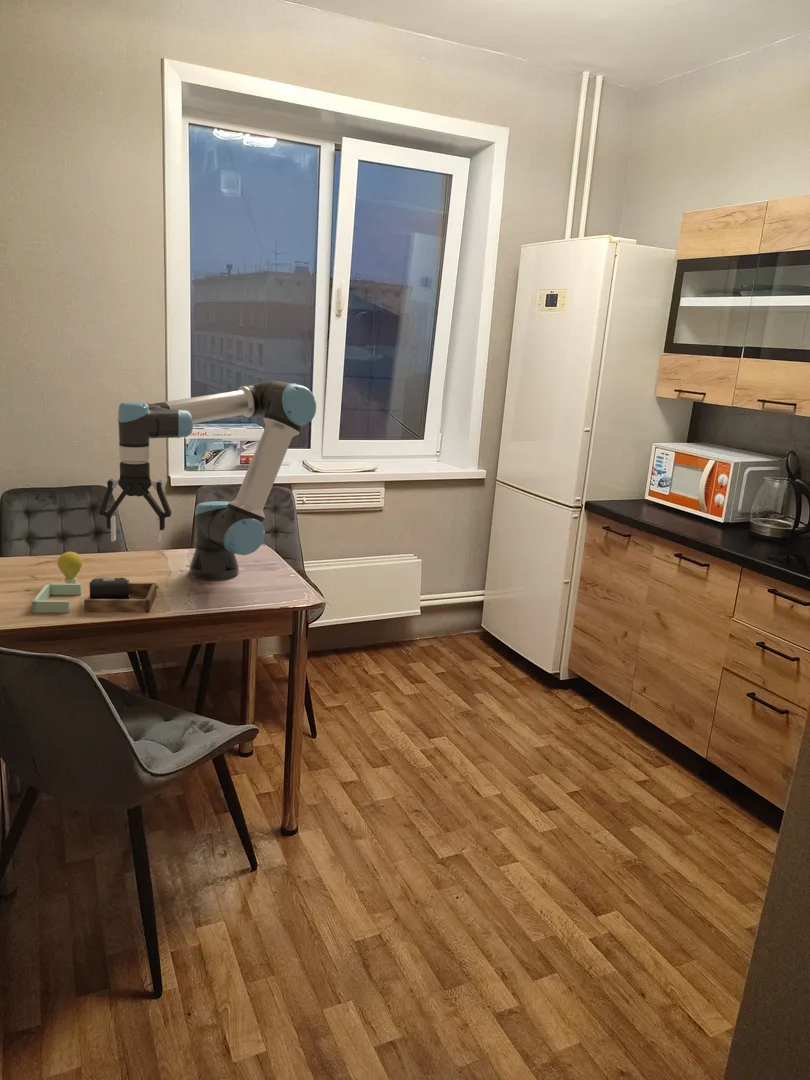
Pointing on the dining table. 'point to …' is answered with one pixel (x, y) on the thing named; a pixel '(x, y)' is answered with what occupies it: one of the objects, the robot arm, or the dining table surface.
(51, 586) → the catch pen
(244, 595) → the dining table surface
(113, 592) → the end cap
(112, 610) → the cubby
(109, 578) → the grey metal bar
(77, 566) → the light bulb
